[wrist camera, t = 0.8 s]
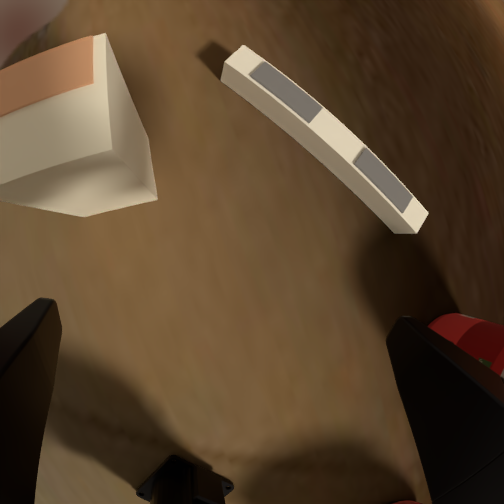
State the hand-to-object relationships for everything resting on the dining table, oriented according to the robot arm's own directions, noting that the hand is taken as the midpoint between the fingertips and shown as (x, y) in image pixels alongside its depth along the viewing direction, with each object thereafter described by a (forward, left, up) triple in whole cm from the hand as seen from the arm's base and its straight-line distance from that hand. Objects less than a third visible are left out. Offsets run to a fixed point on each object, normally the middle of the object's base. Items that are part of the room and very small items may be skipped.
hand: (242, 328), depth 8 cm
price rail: (+12, -1, -15) cm, 19 cm away
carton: (+1, +9, -15) cm, 17 cm away
